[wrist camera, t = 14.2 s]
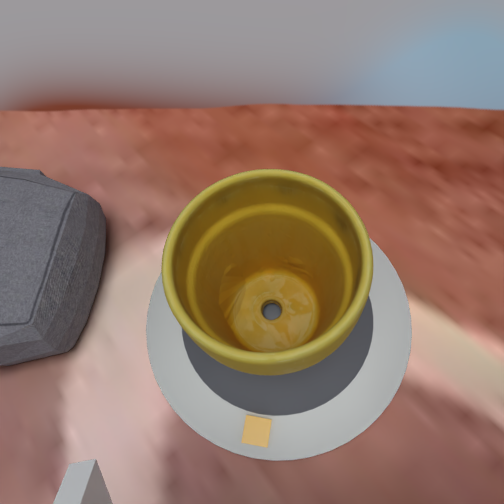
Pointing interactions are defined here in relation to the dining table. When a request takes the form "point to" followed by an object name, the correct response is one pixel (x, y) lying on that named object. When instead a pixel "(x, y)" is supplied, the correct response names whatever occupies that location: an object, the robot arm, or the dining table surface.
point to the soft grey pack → (46, 264)
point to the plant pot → (268, 270)
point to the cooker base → (287, 380)
